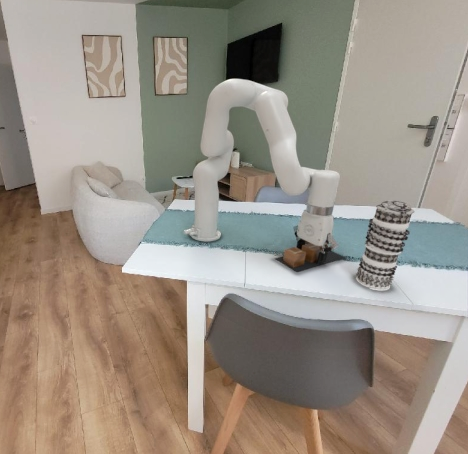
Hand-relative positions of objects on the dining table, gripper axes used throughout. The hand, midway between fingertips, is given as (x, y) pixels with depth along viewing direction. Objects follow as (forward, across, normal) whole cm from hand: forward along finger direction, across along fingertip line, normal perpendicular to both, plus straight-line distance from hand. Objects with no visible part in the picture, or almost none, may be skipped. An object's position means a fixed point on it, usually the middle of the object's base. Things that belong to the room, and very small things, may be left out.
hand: (310, 256), depth 101 cm
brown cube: (+1, 0, 0) cm, 1 cm away
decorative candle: (+1, +18, +5) cm, 19 cm away
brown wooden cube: (+1, 0, -8) cm, 8 cm away
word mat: (+1, 0, 0) cm, 1 cm away
